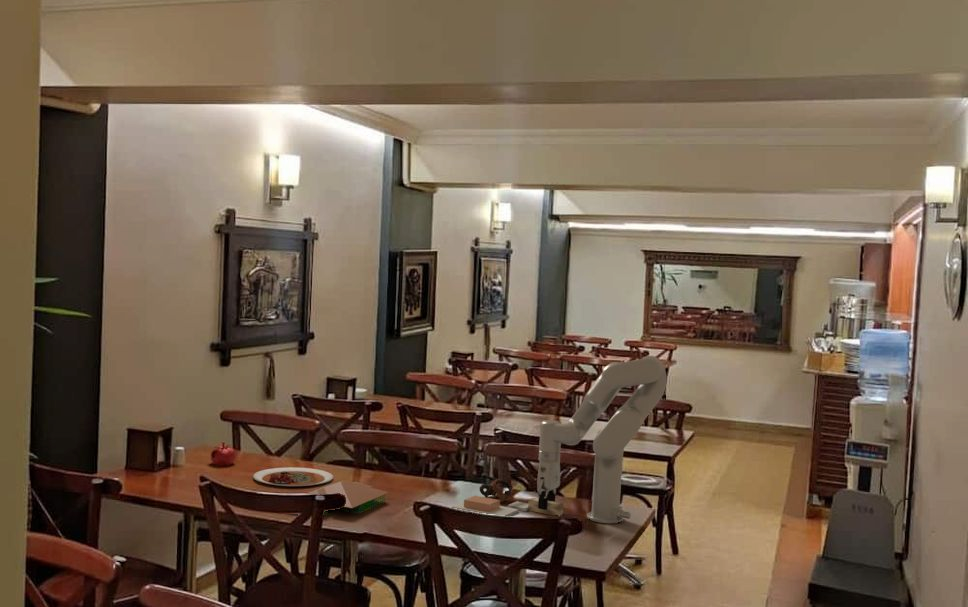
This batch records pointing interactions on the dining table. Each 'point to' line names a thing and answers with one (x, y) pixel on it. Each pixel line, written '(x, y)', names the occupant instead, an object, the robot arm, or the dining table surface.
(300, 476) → the plated food
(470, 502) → the tile
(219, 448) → the pomegranate
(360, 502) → the house
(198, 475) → the dining table surface
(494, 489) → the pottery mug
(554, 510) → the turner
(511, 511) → the board
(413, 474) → the dining table surface
